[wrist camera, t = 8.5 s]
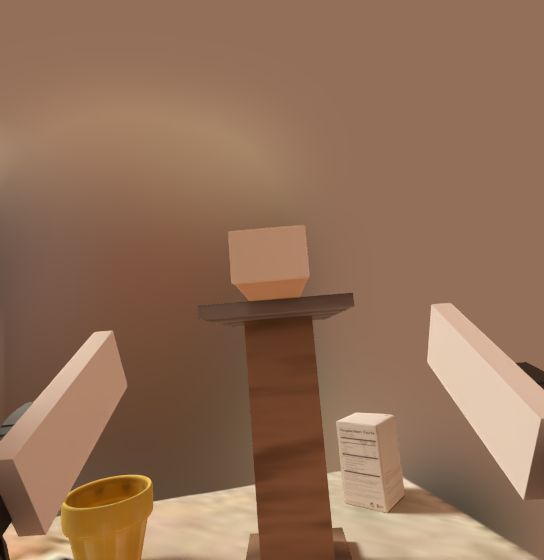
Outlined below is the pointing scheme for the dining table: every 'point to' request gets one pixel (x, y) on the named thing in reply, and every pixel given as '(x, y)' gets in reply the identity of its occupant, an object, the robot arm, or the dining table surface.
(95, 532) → the plant pot
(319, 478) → the shelf stand
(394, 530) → the dining table surface
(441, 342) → the robot arm
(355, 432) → the supplement box
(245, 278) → the tan rectangular bar
